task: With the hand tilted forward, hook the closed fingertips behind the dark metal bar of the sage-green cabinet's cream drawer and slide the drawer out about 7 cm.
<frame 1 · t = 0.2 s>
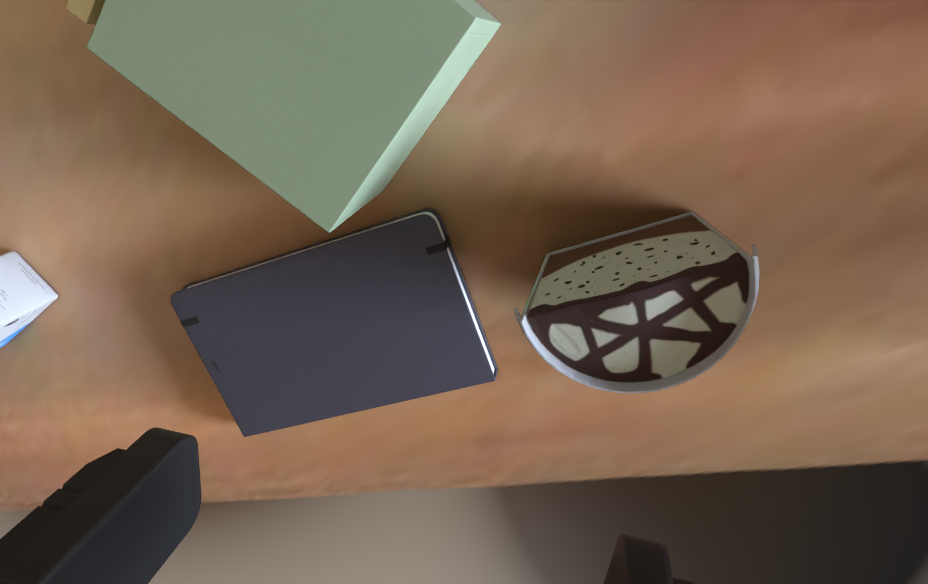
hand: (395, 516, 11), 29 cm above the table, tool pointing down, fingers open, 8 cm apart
ink box: (12, 298, 48), on the table
notebook: (335, 326, 44), on the table
food container: (629, 275, 39), on the table
cabinet: (342, 35, 36), on the table
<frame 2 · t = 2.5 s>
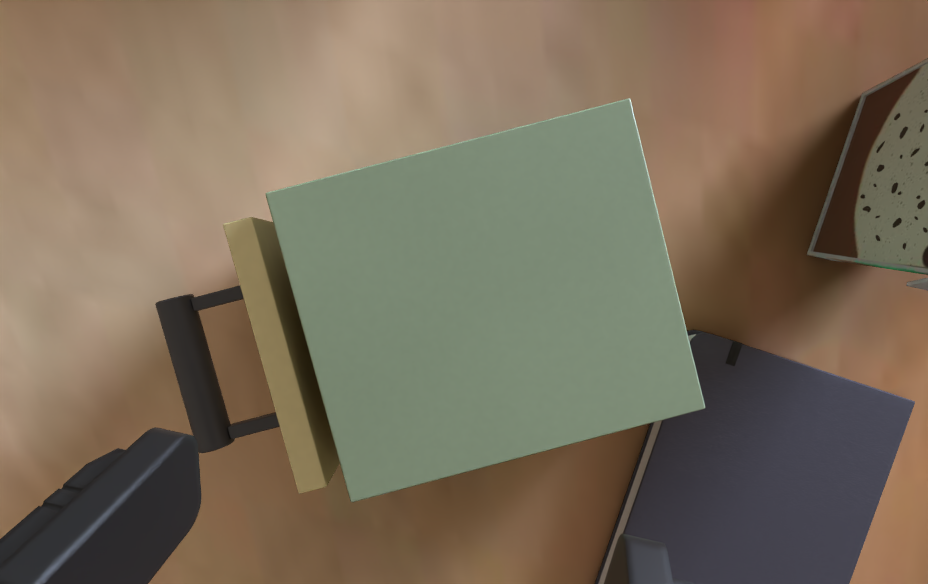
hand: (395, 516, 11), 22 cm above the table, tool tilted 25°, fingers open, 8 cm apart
notebook: (725, 535, 34), on the table
drawer: (376, 323, 28), point 5 cm above the table, slide at 1.0 cm
food container: (883, 192, 33), on the table
cabinet: (477, 291, 33), on the table
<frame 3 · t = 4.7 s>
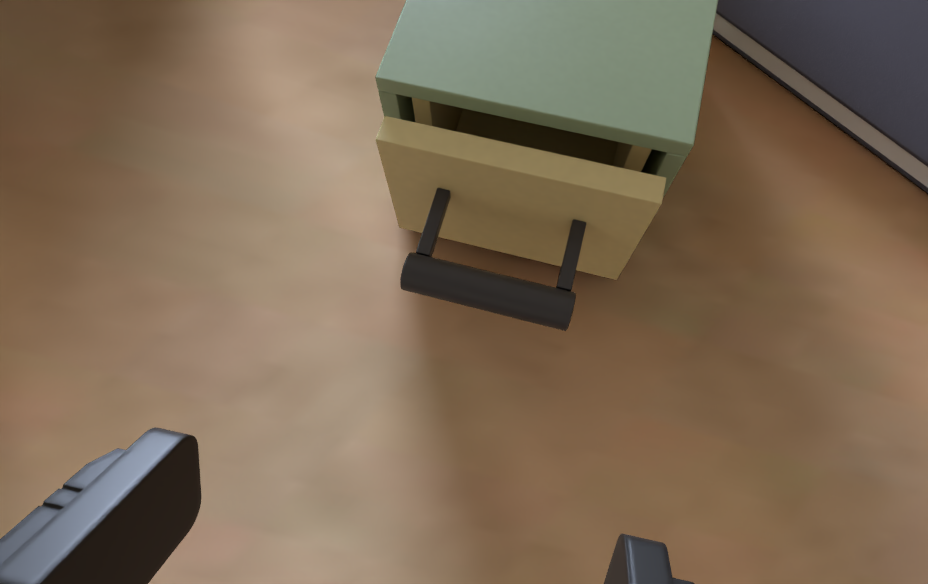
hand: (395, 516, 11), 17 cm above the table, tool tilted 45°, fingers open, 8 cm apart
notebook: (859, 39, 36), on the table
drawer: (531, 138, 28), point 5 cm above the table, slide at 1.0 cm
cabinet: (545, 114, 34), on the table
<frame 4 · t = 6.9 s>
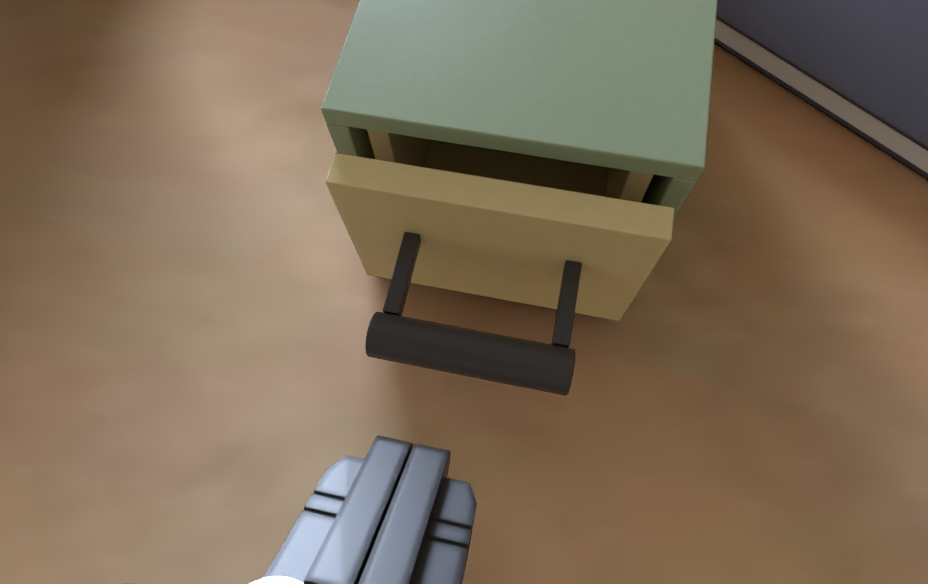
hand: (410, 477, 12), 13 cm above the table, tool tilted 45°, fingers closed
notebook: (865, 33, 33), on the table
drawer: (511, 166, 25), point 5 cm above the table, slide at 1.0 cm
cabinet: (525, 135, 31), on the table
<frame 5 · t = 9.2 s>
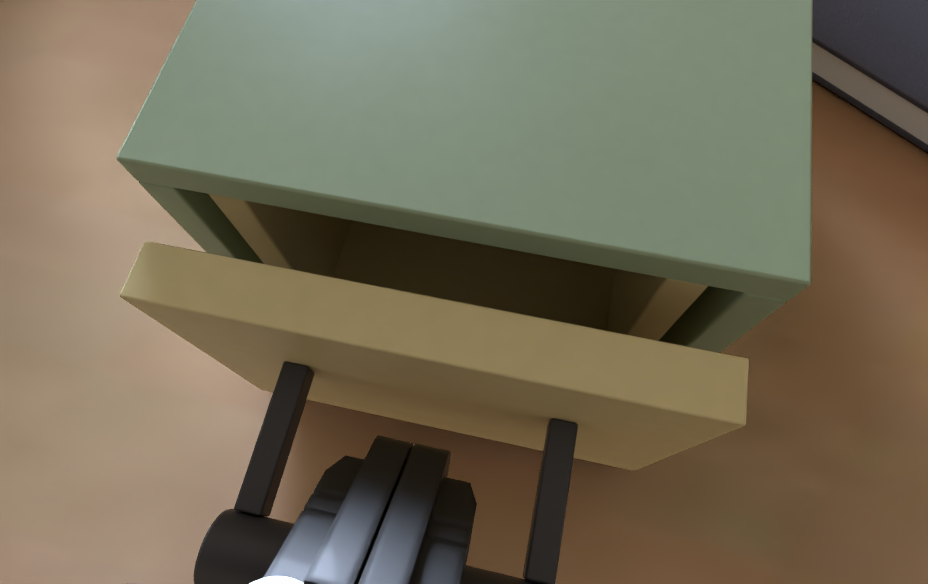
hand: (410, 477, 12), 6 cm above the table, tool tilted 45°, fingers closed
drawer: (470, 240, 16), point 5 cm above the table, slide at 1.1 cm, touching gripper
cabinet: (502, 174, 22), on the table
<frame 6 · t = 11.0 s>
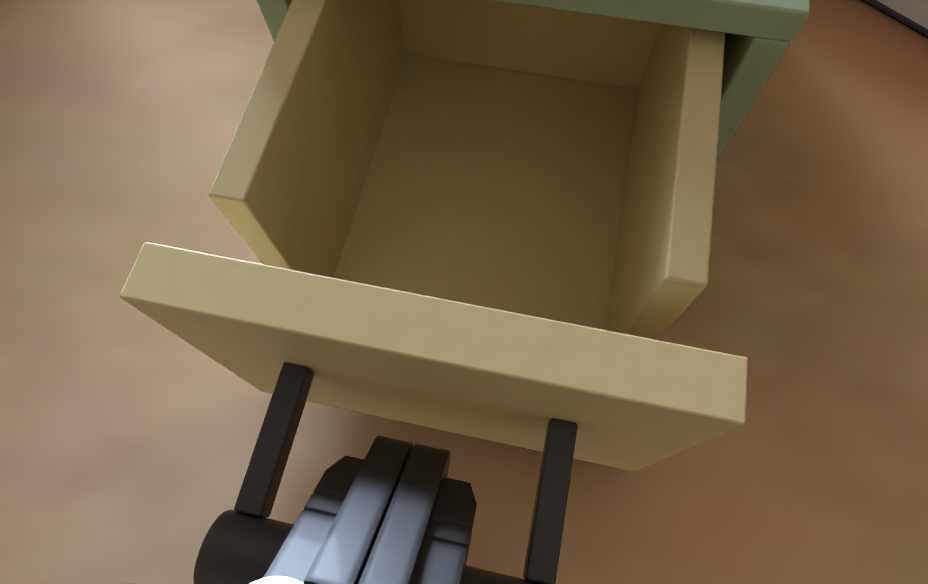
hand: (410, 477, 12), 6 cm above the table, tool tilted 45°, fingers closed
drawer: (469, 241, 16), point 5 cm above the table, slide at 7.2 cm, touching gripper
cabinet: (529, 50, 24), on the table
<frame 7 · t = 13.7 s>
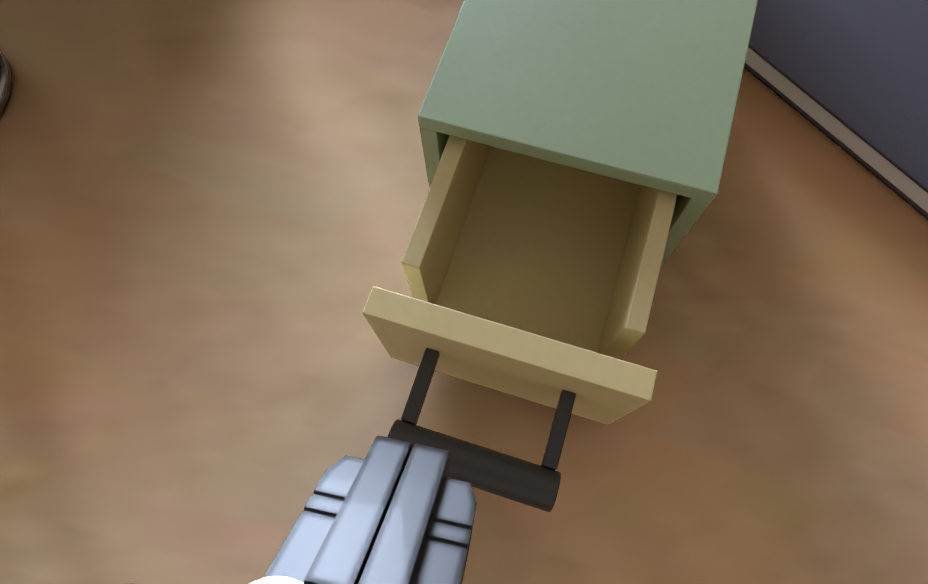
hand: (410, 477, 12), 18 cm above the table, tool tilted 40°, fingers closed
notebook: (885, 73, 37), on the table
drawer: (526, 286, 28), point 5 cm above the table, slide at 7.4 cm
cabinet: (573, 139, 36), on the table
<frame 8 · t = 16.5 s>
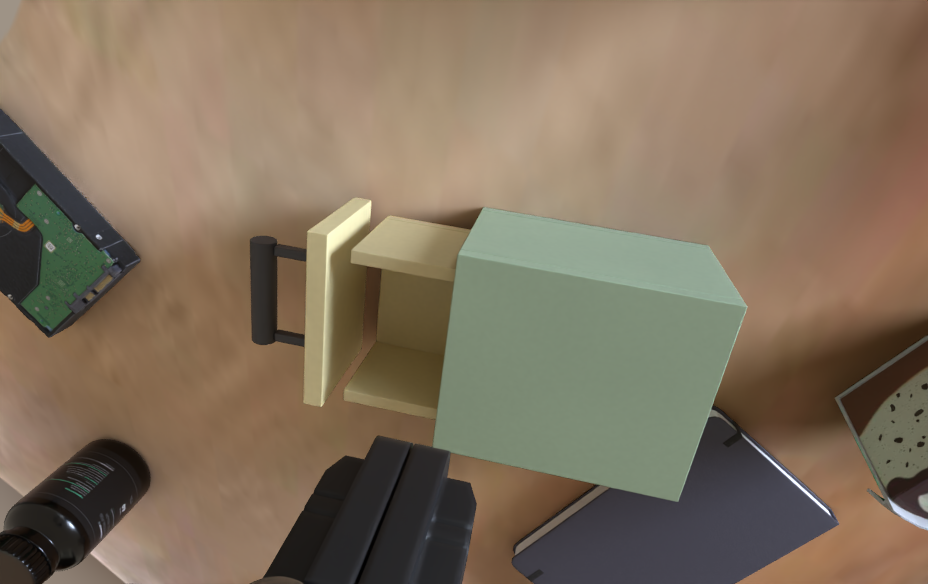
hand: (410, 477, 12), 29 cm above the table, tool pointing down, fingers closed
notebook: (658, 527, 47), on the table
disk drive: (40, 219, 46), on the table
drawer: (394, 309, 38), point 5 cm above the table, slide at 7.4 cm
food container: (927, 382, 39), on the table
cabinet: (574, 312, 41), on the table
supplement bottle: (120, 466, 55), on the table
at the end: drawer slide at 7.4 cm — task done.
